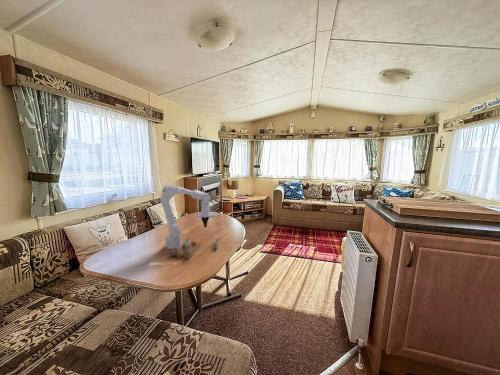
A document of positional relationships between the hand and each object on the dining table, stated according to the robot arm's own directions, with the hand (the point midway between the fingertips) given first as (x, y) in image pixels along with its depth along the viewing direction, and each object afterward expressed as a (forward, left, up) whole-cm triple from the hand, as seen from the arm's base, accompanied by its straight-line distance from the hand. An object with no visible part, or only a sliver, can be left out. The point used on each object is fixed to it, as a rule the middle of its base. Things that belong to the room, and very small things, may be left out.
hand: (205, 226), depth 151 cm
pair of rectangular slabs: (-1, -11, -10) cm, 15 cm away
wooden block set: (-9, -29, -7) cm, 31 cm away
